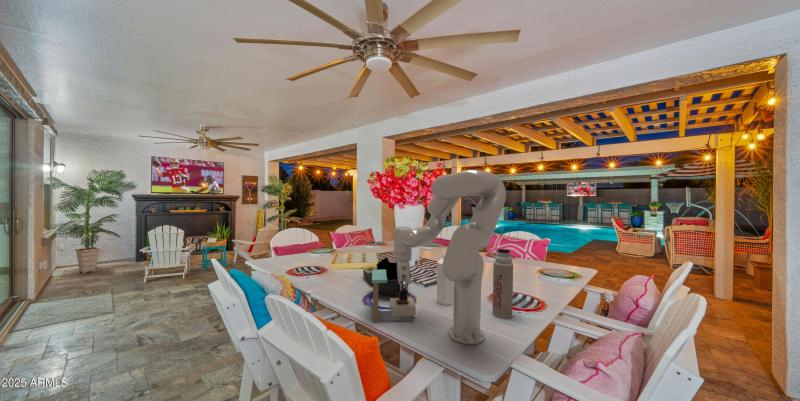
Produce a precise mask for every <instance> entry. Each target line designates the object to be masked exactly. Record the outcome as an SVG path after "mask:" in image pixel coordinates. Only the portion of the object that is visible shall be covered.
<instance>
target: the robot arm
mask: <svg viewBox="0 0 800 401" xmlns="http://www.w3.org/2000/svg"><path fill="white" fill-rule="evenodd" d="M431 193H432V195H433V196H432V198H431V199H430V201H429V202H428V203H427V206H426V207H427V208H426V209H427V211H428V213H429V214H430V217H429V218H428V220H427V222H426V223H425V224H424V225H423V226H421V227H416V228H411V227H408V226H397V227H395V228H394V232H393V233H394V234H393V236H394V237H393V239H394V241H393V244H394V246H393V247H394V248H393V250H394V251H393V259H394V261H396V262H397V279H398V292H399V291H400V300H408V298H409V297H408V295H409V289H408V290H407V284H409V285H411V279H410V274H411V265H410V261H412V259H413V254H412V253H413V252H412V251H413V248H418V247H423V246H427V245H430V244H431V243H433V242H434V241H435V240H436V238H437V237H438V236H439V235H440V234H441V232H442V230H443V229H444V227H445V223H446V218H447V217H448V215H449V214H450V213H451V211H452V210H453V209H454V207H455V206H456V205H457V203H458V202H459V200H460V199H461V198H465V197H475V196H476V197H478V196H479V197H480V199H479V201H478V203H477V204H476V206H475V208H474V211H473V214H472V216H471V219H470V220H469V222H468V223H466V224H465V223H464V224H462V225H460V226H458V227H457V228H456V229H455V230H454V232H453V233H452V235H451V237H450V241H449V244H448V245H447V249H446V251H445V254H444V256H445V257H444V260H443V272H444V275H445V276H446V277H447V278H448V279H449V280H451V281H453V282H455V283H454V303H453V320H452V321H453V326H452V327H450V328H449V330H448V335H449V337H450V339H452V340H453V341H455V342H456V343H460V344H465V345H478V344H481V343H482V342H483V341H484V340H485V337H486V336H485V333H484V332H483V330H481V304H482V297H481V296H482V281H483V273H484V265H485V264H484V259H483V256H482V255H481V253H480V252H479V251H481V250H483V249H485V248H487V247H488V246H489V244H490V242H491V240H492V236H493V234H494V231H495V230H496V227H497V224H498V221H499V218H500V216H501V213H502V211H503V208H504V206H505V203H506V199H507V191H506V187H505V184H504V182H503V181H502V180H501V178H500V177H499V176H498V175H496V174H495V173H493V172H490V171H486V170H477V169H467V170H463V171H458V172H453V173H450V174H443V175H440V176H438V177H436V178H435V179H434V181H433V182H432V184H431ZM402 282H403V283H402ZM402 285H403V286H402Z"/></svg>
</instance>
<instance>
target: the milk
mask: <svg viewBox="0 0 800 401" xmlns="http://www.w3.org/2000/svg"><path fill="white" fill-rule="evenodd" d="M444 257H445V255H443V254H442V255H441V258H440V259H439V260H438V261H437V263H436V264H437V265H436V303H439V304H441V305H443V306H446V307H447V306H449V305H454V283H455V282H453V281H451V280H449V279H448V278H447V277H446V276H445V275H444V272H443V260H444Z"/></svg>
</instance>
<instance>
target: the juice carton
mask: <svg viewBox="0 0 800 401" xmlns="http://www.w3.org/2000/svg"><path fill="white" fill-rule="evenodd" d="M372 270H377V267H371V268H367V269H365V268H363V270H362V271H363V280H364V281H366V282H367V284H369V285H370V286H371V288H373V283H372Z"/></svg>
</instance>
